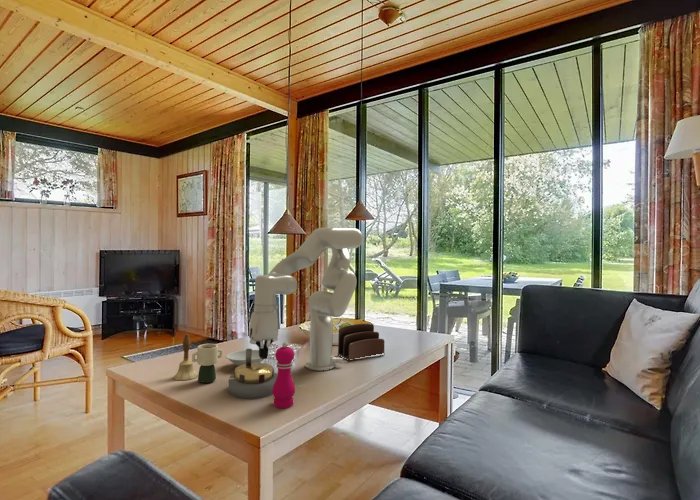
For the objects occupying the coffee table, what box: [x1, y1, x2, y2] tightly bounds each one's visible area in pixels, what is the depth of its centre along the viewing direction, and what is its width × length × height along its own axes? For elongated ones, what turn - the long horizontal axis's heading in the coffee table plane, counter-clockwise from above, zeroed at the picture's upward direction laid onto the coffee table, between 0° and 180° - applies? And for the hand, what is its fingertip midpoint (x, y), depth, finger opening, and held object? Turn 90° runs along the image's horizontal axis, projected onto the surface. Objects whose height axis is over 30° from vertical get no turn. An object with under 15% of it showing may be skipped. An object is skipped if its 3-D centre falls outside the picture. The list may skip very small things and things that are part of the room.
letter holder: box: [337, 323, 385, 360], centre depth 182 cm, size 10×20×14 cm, turn 122°
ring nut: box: [233, 348, 275, 384], centre depth 137 cm, size 13×13×8 cm
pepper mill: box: [272, 341, 296, 409], centre depth 125 cm, size 7×7×20 cm
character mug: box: [191, 343, 223, 383], centre depth 143 cm, size 11×7×13 cm, turn 128°
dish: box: [225, 349, 270, 367], centre depth 161 cm, size 18×14×5 cm
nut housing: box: [228, 372, 278, 400], centre depth 137 cm, size 17×17×4 cm
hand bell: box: [173, 333, 198, 381], centre depth 147 cm, size 8×8×16 cm
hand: (263, 358), depth 145 cm, fingers closed
